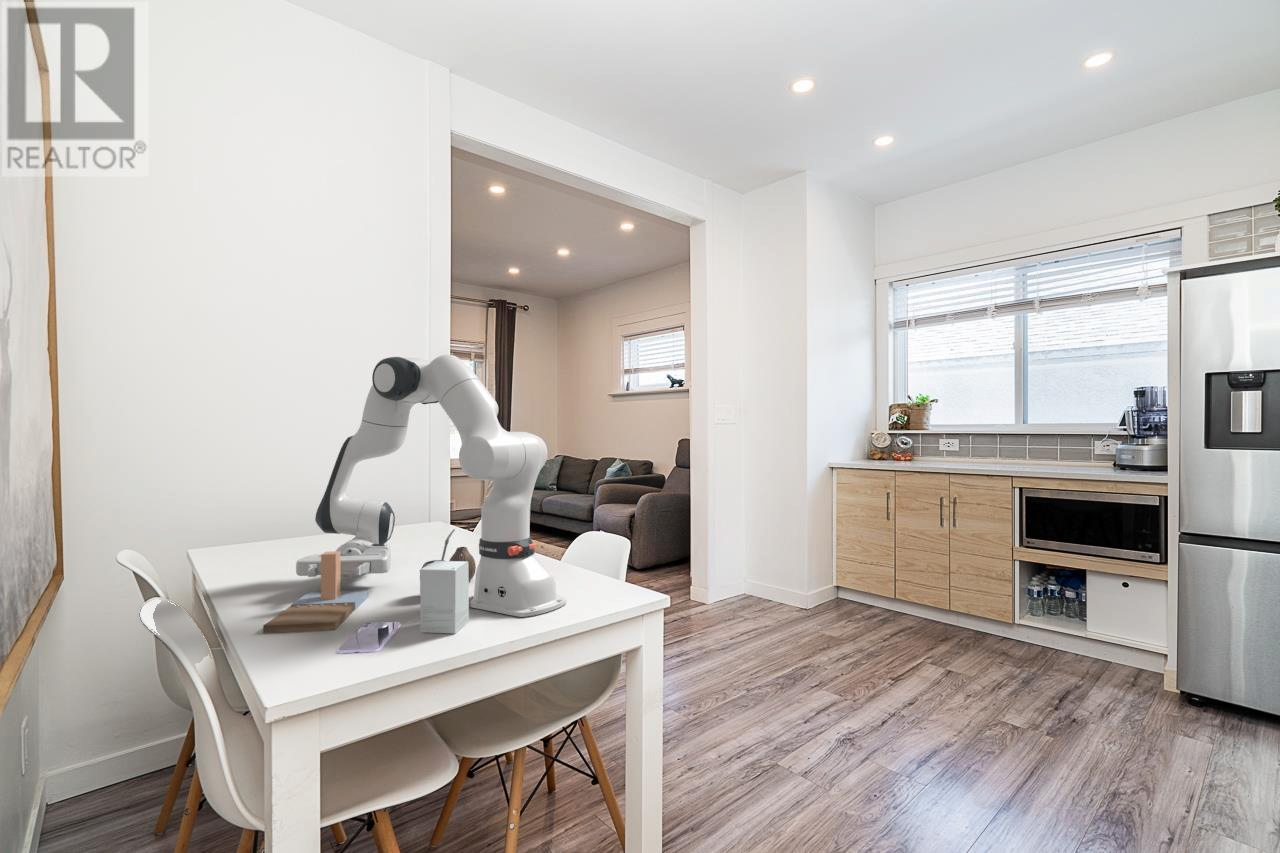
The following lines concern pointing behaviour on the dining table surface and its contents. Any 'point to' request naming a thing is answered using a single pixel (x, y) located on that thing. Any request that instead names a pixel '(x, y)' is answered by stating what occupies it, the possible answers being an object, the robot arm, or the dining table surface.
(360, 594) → the stub
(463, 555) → the vase
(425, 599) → the supplement box
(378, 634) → the mobile phone
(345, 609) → the board
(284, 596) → the dining table surface
